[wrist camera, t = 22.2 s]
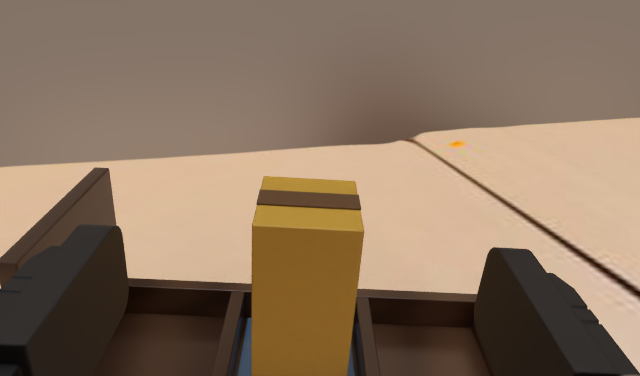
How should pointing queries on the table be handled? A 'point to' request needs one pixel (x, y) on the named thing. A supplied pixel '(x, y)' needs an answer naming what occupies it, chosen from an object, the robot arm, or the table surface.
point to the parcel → (304, 276)
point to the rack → (236, 314)
